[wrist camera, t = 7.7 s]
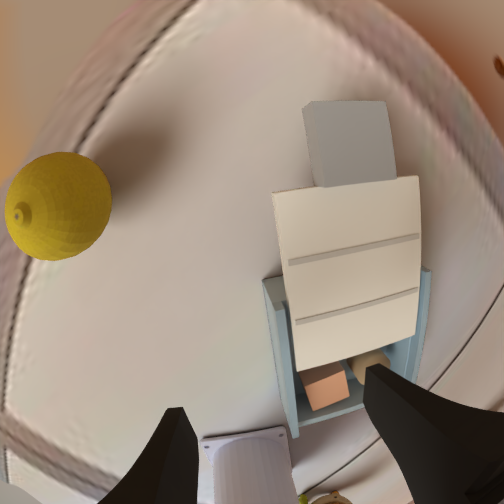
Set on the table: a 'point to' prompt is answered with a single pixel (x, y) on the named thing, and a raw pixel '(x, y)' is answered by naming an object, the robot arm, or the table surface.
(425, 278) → the tub
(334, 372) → the block
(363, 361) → the tan rounded piece
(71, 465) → the table surface
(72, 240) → the lemon
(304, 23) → the table surface
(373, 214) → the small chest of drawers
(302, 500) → the bird rattle
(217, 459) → the robot arm
